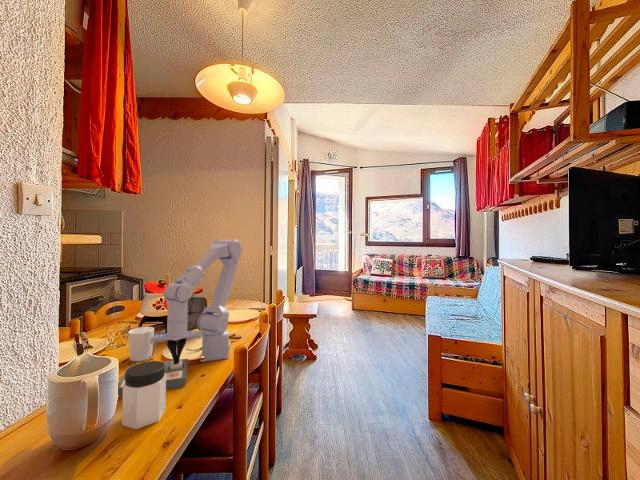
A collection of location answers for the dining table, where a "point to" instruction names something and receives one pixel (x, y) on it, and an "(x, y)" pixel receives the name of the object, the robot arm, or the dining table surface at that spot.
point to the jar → (144, 394)
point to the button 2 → (176, 365)
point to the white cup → (140, 343)
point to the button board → (173, 377)
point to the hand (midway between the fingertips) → (176, 362)
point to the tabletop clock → (195, 311)
